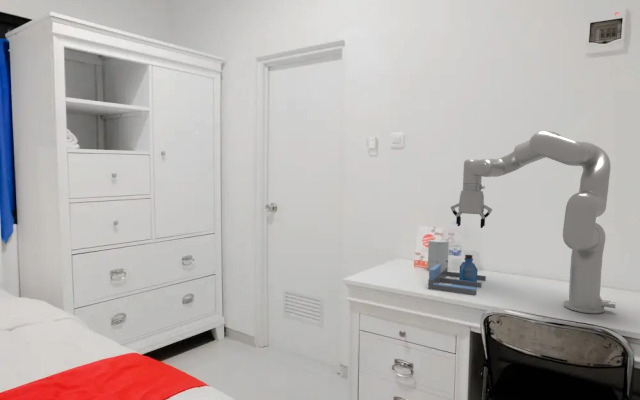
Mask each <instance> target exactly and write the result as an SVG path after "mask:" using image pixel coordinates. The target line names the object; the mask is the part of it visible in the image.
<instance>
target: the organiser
mask: <svg viewBox="0 0 640 400" xmlns="http://www.w3.org/2000/svg"><path fill="white" fill-rule="evenodd" d="M448 269H449V266H448V267H442V268H441V264H436V265H434V266H433V267H432V268H431V269H429V270H428V280H427V282H428V283H427V285H428V286H427V289H428V290H435V291H441V292H446V293H447V292H448V293H455V294H460V295H462V294H463V295H468V296H475V295H476V296H477V291H478V290H477V288H479V289H481V288H482V284H483V283H482V282H486V281H487V277H486V275H481V274H477V282H473V281H465V280H459V279H455V278H459V272H455V271H448ZM448 277H453V278H448ZM478 281H479V282H478ZM480 281H482V282H480Z"/></svg>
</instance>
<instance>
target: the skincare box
mask: <svg viewBox="0 0 640 400" xmlns="http://www.w3.org/2000/svg"><path fill="white" fill-rule="evenodd" d="M427 249H428V252H427V253H428V255H427V270H428V271H429V269H431V268H432V267H433V266H434V265H436V264H441V268H442V267H448V268H449V241H448V240H443V239H442V240H441V239H433V240H428V248H427Z"/></svg>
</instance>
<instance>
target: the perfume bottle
mask: <svg viewBox="0 0 640 400" xmlns="http://www.w3.org/2000/svg"><path fill="white" fill-rule="evenodd" d="M464 255H465V257H464V261H462V262H461V264H460V265H459V272H458V273H459V279H458V280H465V281H473V282H478V280H477V275H478V269H477V265H475V264H476V263H474V262H473V261H474V258H473V255H472V254H464Z"/></svg>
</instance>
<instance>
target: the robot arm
mask: <svg viewBox="0 0 640 400" xmlns="http://www.w3.org/2000/svg"><path fill="white" fill-rule="evenodd" d="M545 158H547V159H549V160H553V161H555V162H558V163H560V164H563V165H567V166H572V167H573V166H575V167H579V166H580V167H582V173H581V177H580V181H579V182H580V183H579V190H578V192H576V193H575V194H574V193H573V194H572V195H571V197H569V199H568V201H567V202H566V205H565V212H564V221H563V226H562V227H563V228H562V238H563V242H564V244H565V245H566V247H568V248H569V249H571V256H570V268H569V271H570V272H569V288H568V300H564V301H563V306H564V307H565V308H567V309H569V310H572V311H575V312H578V313H584V314H596V315H597V314H603V313H604V312H605V307H606V308H610V309H616V305H617V304H616V302H611V300H603V299H602V298H601V287H602V286H601V283H602V282H601V281H602V266H603V256H604V255H603V254H604V250H605V243H606V231H605V230H604V228H603V227H602V226H601V224H599V223H598V222H596V220H597V218H598V217H601V216H602V215H603V214H604V213H605V211H606V209H607V201H608V193H609V185H610V177H611V160H610V158H609V155H608V153H607V152H606V151H605V150H604V149H602V148H601V147H600V146H597V145H595V144H594V143H591V142H585V141H576V140H574V139H569V138H566V137H563V136H561V135H560V134H559V133H558V132H555V131H550V130H540V131H537V132H535V133H534V134H533V135H532V136H531V137H530V139H529V140H526V141H524V142H521V143H519V144H517V145H515V146H514V149H513V151H512V152H511V153H509V154H507V155H504V156H501V157H499V158H496V159H495V158H483V159H482V158H481V159H465V160H464V162H463V174H462V175H463V178H462V179H463V180H462V190H461V191H460V194H459V200H458V203H456V204H455V205H452V206H450V209H451V211H452V213H453V214H454V216H455V217H456V221H455V223H456V224H455V225H457V227H460V226H461V222H462V221H461V220H462V217H461V215H462V214H469V215H479V216H480V217H481V218H480V229H483V228H484V227H485V226H486V218H487V217H489V216H490V214H491V213H492V211H493V209H492V208H491V207H489V206H487V205H486V204H485V201H484V200H485V197H484V190H483V189H485V187H486V186H485V185H483V184H482V178H483V177H485V178H488V177H489V178H492V177H494V178H495V177H502V176H504V175H507V174H510V173H512V172H515V171H518V170H519V169H521V168H523V167H524V166H527V165H529V164H531V163H534V162H537V161H540V160H542V159H545ZM482 190H483V191H482ZM456 208H458V212H457V210H456ZM485 210H487V212H486V213H484V211H485Z"/></svg>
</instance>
